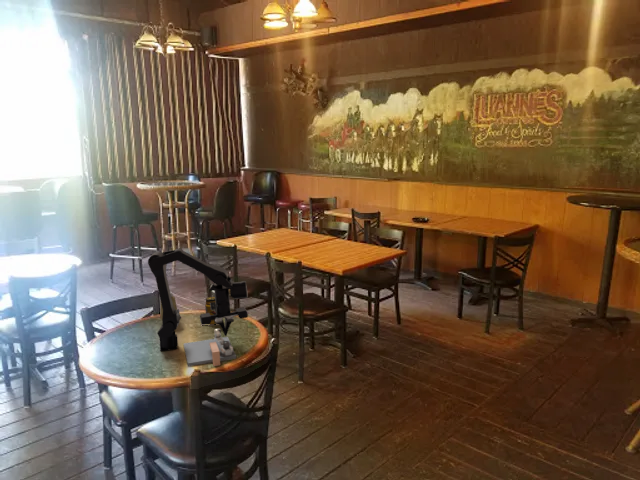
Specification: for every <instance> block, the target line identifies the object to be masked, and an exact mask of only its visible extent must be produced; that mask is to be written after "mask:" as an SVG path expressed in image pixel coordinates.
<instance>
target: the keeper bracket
mask: <svg viewBox="0 0 640 480" xmlns="http://www.w3.org/2000/svg"><path fill="white" fill-rule="evenodd" d="M209 344H210V348H211V351H212V358H213V362H212V365H213V367H215V366H221V361H220V352H219V349H218V346H217V343H216V342H212V343H209Z"/></svg>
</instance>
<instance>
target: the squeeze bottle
mask: <svg viewBox="0 0 640 480" xmlns="http://www.w3.org/2000/svg"><path fill="white" fill-rule="evenodd" d="M170 294H171V298H172V303H173V306H174V308H175V310H177V309H178V306H177V301H176V296H174V295H173V291H170ZM159 300H160V299H159ZM159 302H160V304H159V305H160V306H159V307H160V310H159V311H160V312H159V313H160V314H159V315H160V316H159V317H160V319H161V320H162V315H163V309H162V305H161V300H160V301H159Z"/></svg>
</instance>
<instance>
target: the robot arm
mask: <svg viewBox="0 0 640 480" xmlns="http://www.w3.org/2000/svg"><path fill="white" fill-rule="evenodd" d="M176 261H178V262H180V263H181V264H184V265H186V266H188V267H189V268H191V269H193V270H195V271H197V272H199V273H201V274H202V275H205V277H206V278H207V279H209V281H211V282H212V284H211V285H210V287H209V289H208V291H210V292H211V291H212V292H213V291H214V297H215V302H210V307H211V310H215V313H216V315H210V313H206V312H205V313H201V314H200V315H199V321H200V323H201V325H205V324H210V323H211V320H215V322H216V324H219V325H218V326H219V327H220V329H221V331H222V332H223V334H224V337H228V336H227V335H228V332H229V330H230V326H231V324H232V323H233V322H234V321H235V320H234V317H238V318H239V319H240V320H241V319H246V318H247V319H248V317H249V314H248V310H247V309H246V307H239V308H235V311H231V301H230V297H231V298H232V299H234V300H235V299H237V300H239V299H248V297H249V294H248V287H247V281H246V280H242V281H237V282H235V281H234V280H233V279H232V278H231V277H230V275H229V274H228V270H227V269H225V268H224V267H220V266H218V265H214V264H213V265H212V264H210V263H207V262H205V261H204V260H202V259H200V258H198V257H196V256H194V255H192V254H190V253H188V252H186V251H184V250H183V249H182V248H176V249H173V250H167V251H155V252H154V253H152V254H151V256H149V258H148V260H147V264H148V267H149V269H150V272H151V273H152V275H153V277H154V278H155V281H156V286H157V291H158V295H159V300H161V305H162V309H163V315H162V319H161V321H162V324H161V326H160V327H159V329H158V331H157V335H158V337H159V350H160V352H165V351H173V350H177V349H178V345H179V342H178V334H177V333H176V330H177V329H178V327H179V324H180V323H181V319H182V316H181V315H180V309H179V308H177V310H175V308H174V306H173V303H172V298H171V294H170V292H171V290H170V289H171V288H170V285H169V280H168V277H167V265H168V264H171V263H174V262H176ZM215 303H216V304H215ZM223 319H224V320H223Z"/></svg>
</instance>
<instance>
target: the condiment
mask: <svg viewBox="0 0 640 480" xmlns="http://www.w3.org/2000/svg"><path fill="white" fill-rule="evenodd" d="M210 302H215V296H208V297H206V298H205V305H204V307H205V308H204V309H205V310H204V311H205V313H210V315H216V313H215V310H211V307H210ZM215 304H216V303H215ZM214 324H216V322H215V320H211V323H210V325H209V326H220V325H219V324H216V325H214ZM200 326H201V327H203V326H202V324H201V325H200Z"/></svg>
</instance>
